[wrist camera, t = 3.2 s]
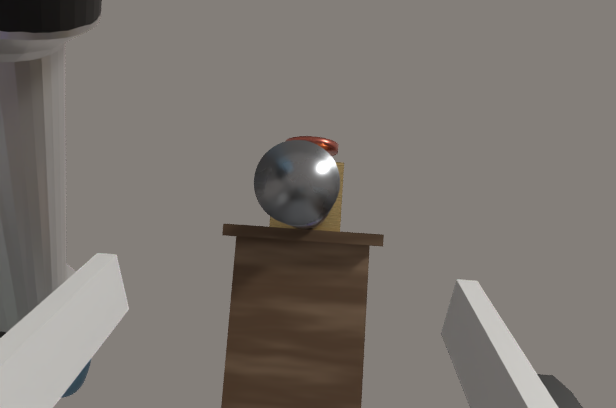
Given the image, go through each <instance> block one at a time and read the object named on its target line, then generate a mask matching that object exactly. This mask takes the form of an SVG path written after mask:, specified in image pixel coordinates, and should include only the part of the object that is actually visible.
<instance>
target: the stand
mask: <svg viewBox="0 0 616 408" xmlns="http://www.w3.org/2000/svg"><path fill="white" fill-rule="evenodd" d="M223 235H229V236H236V248H235V259H234V270H233V281H232V292H231V304H230V315H229V327H228V339H227V350H226V361H225V372H224V383H223V395H222V406H221V408H361V398H362V379H363V359H364V341H365V320H366V302H367V283H368V263H369V245H372V246H383V235H380V234H365V233H350V232H336V231H322V230H307V229H293V228H278V227H263V226H249V225H234V224H224V225H223Z"/></svg>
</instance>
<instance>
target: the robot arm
mask: <svg viewBox="0 0 616 408" xmlns="http://www.w3.org/2000/svg"><path fill="white" fill-rule="evenodd" d="M101 1H102V0H0V408H53V407H54V406H55V405H56V403H57V402H58V401H59V399H60V398H62V397H67V396H70V395H72V394H73V393H75V392H76V391H77V390H78V389H79V388H80V387H81V386H82V384H83V383H84V381H85V378H86V375H87V373H88V370H89V366H90V362H91V358H92V357H93V355H94V354H95V352H96V351H97V350H98V349H99V348H100V346H101V345H102V344H103V342H104V341H105V340H106V338H107V337H108V336H109V335H110V333H111V332H112V331H113V329H114V328H115V326H116V325H117V324H118V323H119V322H120V320H121V319H122V318H123V316H124V315H125V314H126V312H127V311H128V310H129V307H128V302H127V298H126V293H125V289H124V285H123V280H122V276H121V272H120V267H119V263H118V259H117V255H116V254H103V253H97V254H96V255H95V256H93V257H92V258H91V259H90V260H89V261H88V262H87V263H86V264H84V265H83V266H82V267H81V268H80V269H79V270H78V271H75V270H74V269H73V268H72V267H71V266H69V265H68V264H67V259H66V258H67V257H66V119H65V118H66V117H65V116H66V113H65V112H66V111H65V43H66V42H68V41H70V40H72V39H73V38H76V37H78V36H79V35H82V34H84V33H85V32H88V31H89V30H91V29H93V28H94V27H95V26H96V25H97V24H98V22H99V21H100V16H101ZM441 335H442V337H443V340H444V342H445V345H446V348H447V350H448V353H449V355H450V358H451V360H452V363H453V365H454V368H455V370H456V373H457V375H458V378H459V380H460V383H461V386H462V388H463V391H464V393H465V396H466V398H467V401H468V403H469V406H470V408H583V407H582V406H581V405H580V403H579V402H578V401H577V399H576V398H575V396H574V395H573V393H572V392H571V391H570V390H569V389H567V388H566V387H565V386H564V385H563V384H562V383H561V382H560V381H559V380H557V379H556V378H555V377H554V376H553V375H540V374H536V372H535V370H534V369H533V367H532V366H531V364H530V362H529V361H528V360H527V358H526V356H525V355H524V353H523V352H522V350H521V348H520V347H519V345H518V344H517V342H516V341H515V339H514V337H513V336H512V334H511V333H510V331H509V330H508V328H507V327H506V325H505V324H504V322H503V320H502V319H501V317H500V316H499V314H498V313H497V311H496V309H495V308H494V306H493V305H492V303H491V302H490V300H489V299H488V297H487V295H486V294H485V293H484V291H483V289H482V288H481V286H480V285H479V283H478V281H470V280H458V279H457V280H456V284H455V287H454V290H453V294H452V297H451V301H450V305H449V308H448V312H447V315H446V318H445V322H444V325H443V329H442V332H441Z"/></svg>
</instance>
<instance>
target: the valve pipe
mask: <svg viewBox="0 0 616 408" xmlns="http://www.w3.org/2000/svg"><path fill="white" fill-rule="evenodd" d="M337 153H338V144H337V143H336V142H334V141H332V140H329V139H326V138H320V137H311V136H300V137H293V138H289V139H287V140H286V141H285V142H282V143H280V144H278V145H276V146H274V147H273V148H272V149H270V150H269V151H268V152H267V153H266V154H265V155H264V156H263V157H262V159H261V160H260V162H259V164H258V166H257V169H256V172H255V177H254V189H255V194H256V197H257V200H258V202H259V204H260V205H261V207H262V208H263V209H264V211H265V212H266V213H267V214H268V215H270V226H269V227H278V228H293V229H307V230H322V231H336V232H340V221H341V204H342V186H343V171H344V170H343V169H344V163H340V162H335V161H334V160H333V158H332V157H331V156H334V155H336V154H337Z"/></svg>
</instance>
